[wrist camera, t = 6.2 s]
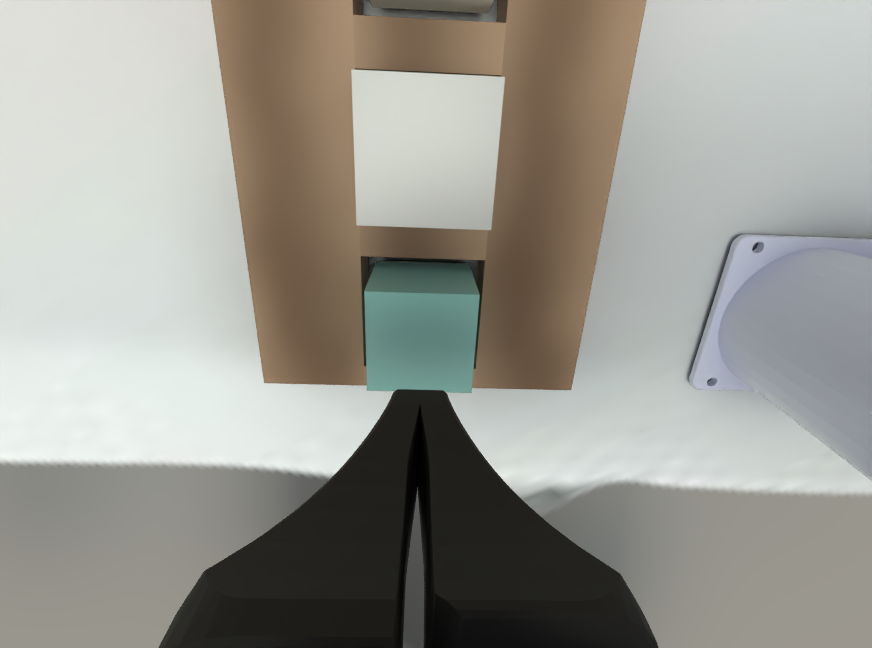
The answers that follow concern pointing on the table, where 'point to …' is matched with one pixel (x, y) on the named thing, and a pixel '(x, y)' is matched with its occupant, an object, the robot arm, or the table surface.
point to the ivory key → (436, 5)
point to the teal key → (421, 326)
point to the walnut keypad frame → (353, 244)
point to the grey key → (425, 148)
